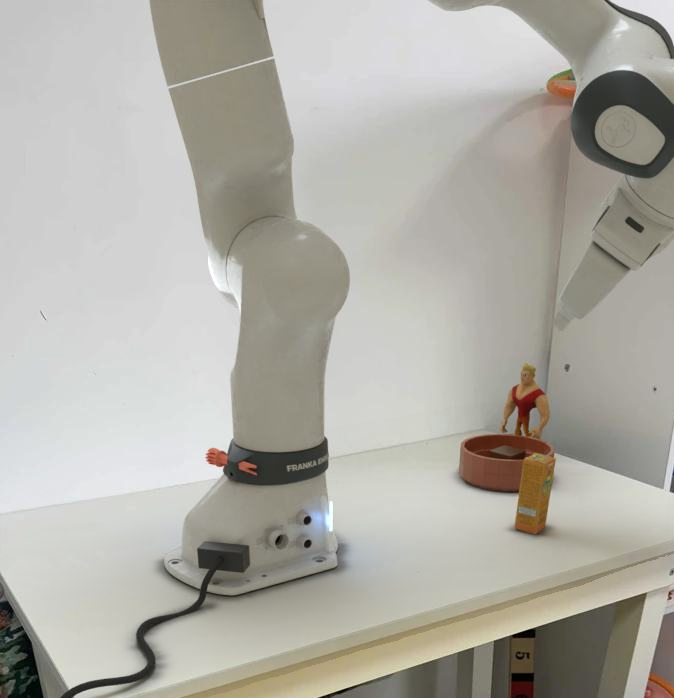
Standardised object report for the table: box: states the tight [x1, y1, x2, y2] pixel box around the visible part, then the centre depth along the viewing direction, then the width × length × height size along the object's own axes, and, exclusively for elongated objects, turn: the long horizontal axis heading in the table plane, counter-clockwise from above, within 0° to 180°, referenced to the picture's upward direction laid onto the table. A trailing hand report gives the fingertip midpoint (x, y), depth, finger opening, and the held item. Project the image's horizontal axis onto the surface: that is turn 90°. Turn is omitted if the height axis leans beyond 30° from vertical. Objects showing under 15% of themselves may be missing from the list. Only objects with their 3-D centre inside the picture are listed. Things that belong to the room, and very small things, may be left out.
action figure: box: [499, 362, 551, 439], centre depth 145 cm, size 10×4×15 cm, turn 37°
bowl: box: [458, 433, 555, 492], centre depth 136 cm, size 14×14×5 cm
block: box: [489, 445, 526, 460], centre depth 135 cm, size 4×4×4 cm
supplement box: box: [514, 453, 557, 535], centre depth 115 cm, size 3×4×10 cm
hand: (570, 309), depth 108 cm, fingers open, 8 cm apart
